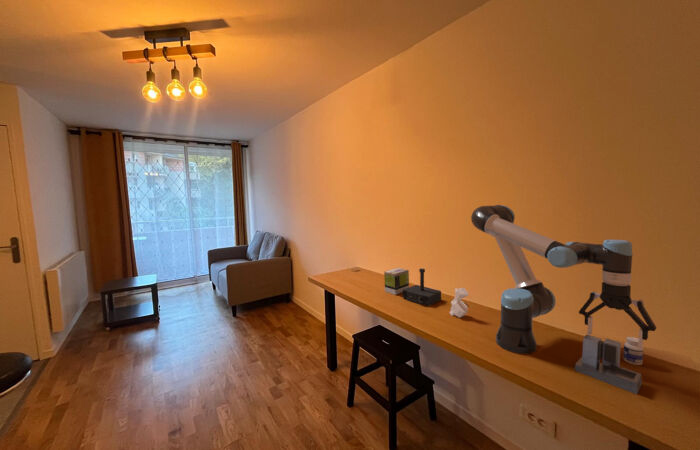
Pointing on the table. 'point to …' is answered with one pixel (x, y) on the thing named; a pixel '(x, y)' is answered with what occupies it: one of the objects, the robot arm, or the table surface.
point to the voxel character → (459, 303)
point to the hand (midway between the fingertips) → (613, 340)
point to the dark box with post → (422, 293)
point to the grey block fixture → (605, 367)
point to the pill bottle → (633, 351)
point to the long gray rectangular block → (611, 352)
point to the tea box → (396, 280)
